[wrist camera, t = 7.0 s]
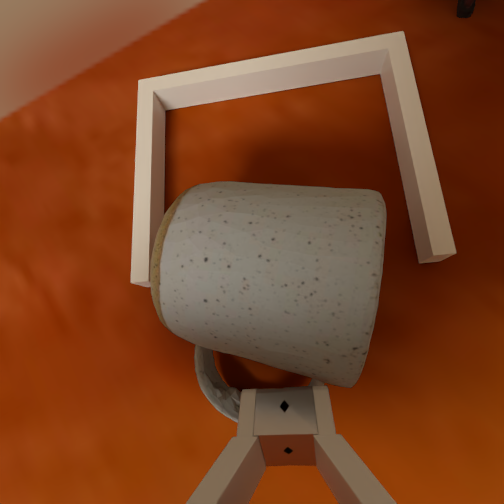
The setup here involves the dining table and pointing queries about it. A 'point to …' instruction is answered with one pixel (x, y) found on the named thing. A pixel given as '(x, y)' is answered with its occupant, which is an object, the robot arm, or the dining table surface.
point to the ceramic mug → (271, 279)
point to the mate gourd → (465, 8)
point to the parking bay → (283, 78)
